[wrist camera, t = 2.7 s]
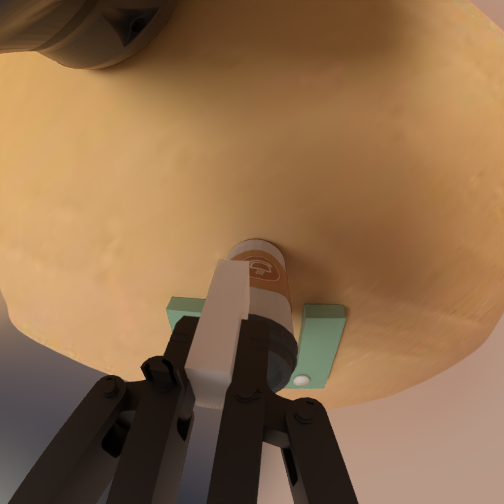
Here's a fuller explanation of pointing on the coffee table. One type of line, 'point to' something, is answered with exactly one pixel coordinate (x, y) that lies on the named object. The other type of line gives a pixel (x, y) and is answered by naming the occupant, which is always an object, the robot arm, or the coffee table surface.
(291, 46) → the coffee table surface
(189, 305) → the mint green u-shaped piece
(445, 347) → the coffee table surface
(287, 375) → the coffee cup
